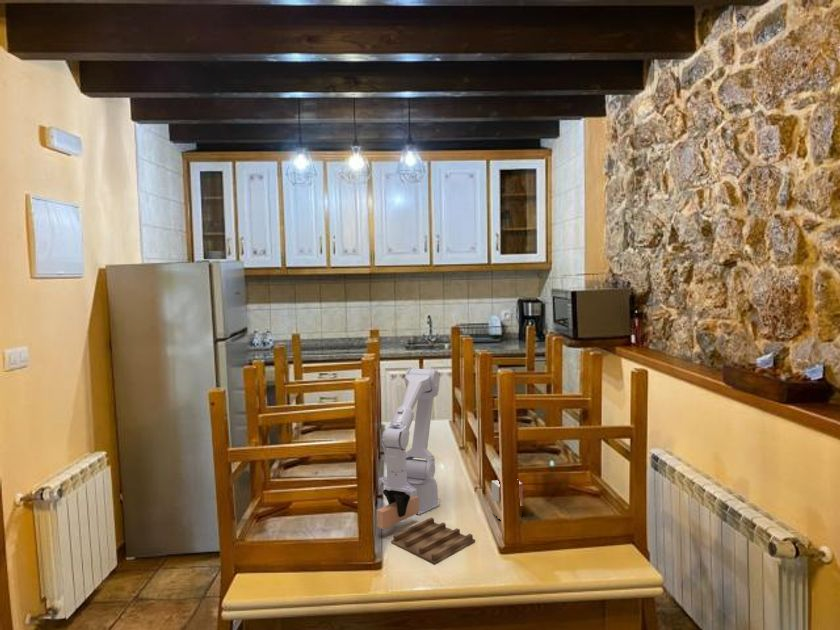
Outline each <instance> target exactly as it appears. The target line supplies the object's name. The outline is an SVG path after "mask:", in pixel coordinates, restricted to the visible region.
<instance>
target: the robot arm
mask: <svg viewBox="0 0 840 630" xmlns="http://www.w3.org/2000/svg"><path fill="white" fill-rule="evenodd" d="M404 380H405V381H404V382H405V383H404V384H405V388H406V390H405V392H404V393H405V394H404V396H403V399H402V402H401V406H398V407H397V408H396V410H395V411H394V414H393V417H392V419H391V422H390V424H389V426H388V427H387V428H386V429H383V431H382V435H381V445H382V448H383V454H385V460H386V463H385V465H386V476H381V477H379V478H378V485H379V486H385V487H384V489H383V490H382V494H383V495H384V496H385V499H386V500H387V502H388V505H389V504H391V503H394V502H396V503H397V510H398V515H399V517H402V516H404V515H405V514H406V509H407V505H408V502H409V500H410V497H411V498H413V497H415V496H418V501H419V513H418V514H417V515H418V516H419V515H422V514H424V513H426V512H428V511H430V510H432V509H434V508H435V509H436V508H437V507H439V506H440V505H441V504H440V503H439V497H438V494H439V493H438V492H439V490H438V483H437V481H436V479H435V478H434V477H435V474H436V458H435V456H434V455H433V454H432V453H431V452H430V451H429V449H428V446H429V438H430V437H429V436H430V428H431V427H430V426H431V420H432V410H433V404H434V403H433V401H434V398H435V397H437V396H438V395H439V390H440V389H439V388H440V381H441V380H440V373H439V371H438V369H436V368H430V369H429V368H413V367H409V368H408V369H407V370H406V372H405V376H404ZM415 406H416V410H415V413H414V408H415ZM414 418H415V419H414ZM413 421H414V429H413V434H412V435H413V437H412V444H411V445H412V446H411V448H410V449H408V450H406V448H407V447H408V445H409V439H410V427H411V426H412V422H413Z"/></svg>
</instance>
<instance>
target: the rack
mask: <svg viewBox="0 0 840 630" xmlns="http://www.w3.org/2000/svg"><path fill="white" fill-rule="evenodd" d="M446 525H447V524H446V523H445V522H441V523H436V522H435V518H434V517H429V518H426V519H425V520H423V521H420V522H418V523H417V524H415V525H412V526H410V527H408V528H406V529H404V530H402V531H400V532H398V533H396V534H394V535H393V536H392V537H393V539H392V540H390V543H391V544H393V545H394V546H397V547H398V548H401V549H402V550H404V551H407V552H408V553H411V554H413V555H415V556H417V557H419V558H421V559H422V560H424V561H426V562H428V563H431V564H433V565H434V566H435V565H436V564H439V563H440V562H442V561H444V560H445V559H448V558H450V557H451V556H453V555H455V554H457V553H458V552H460V551H462V550H463V549H466V548H467V547H469V546H471V545H472V544H474V543H476V539H474V538H473V537H474V536H473V534H472V533H468V534H466V535H465V534H463V533H461V531H460V530H461V529H459V528H454V529H451V528H449V527H446Z"/></svg>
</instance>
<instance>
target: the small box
mask: <svg viewBox="0 0 840 630" xmlns="http://www.w3.org/2000/svg"><path fill="white" fill-rule="evenodd" d="M498 480H499V479H497V480H495V479H494V480H491V502H492V501H499V500H500V484H499V481H498ZM523 488H524V487H523V482H521V481H520V480H519V498H520V506H523V504H524V503H523V502H524V501H523V500H524V498H523V497H524V495H523V493H524V492H523ZM523 507H524V506H523Z"/></svg>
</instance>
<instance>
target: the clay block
mask: <svg viewBox="0 0 840 630" xmlns="http://www.w3.org/2000/svg"><path fill="white" fill-rule="evenodd" d="M418 513H419V501H418V496H415V497H413V498H411V497H410V500H409V502H408V505H407V509H406V514H405V515H404V516H402V517H399V515H398V510H397V503H396V502H394V503H391V504H389V503H388V504H387V505H385V506H383V507H380V508H376V523H377V528H379V529H381V530H384V529H385V530H386V529H387V528H389V527H391V526H394V525H395V524H399V523H401V522H403V521H404V520H406V519H408V518H411V517H414V516H415V515H418Z"/></svg>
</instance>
